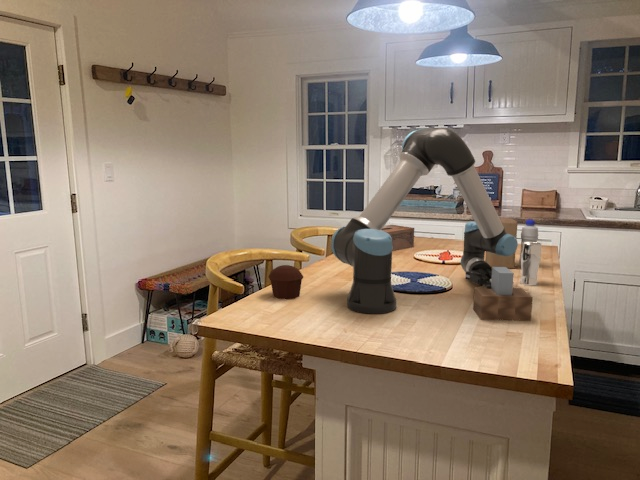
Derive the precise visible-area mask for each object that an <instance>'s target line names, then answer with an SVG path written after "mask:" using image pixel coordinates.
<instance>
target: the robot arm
mask: <svg viewBox="0 0 640 480" xmlns="http://www.w3.org/2000/svg"><path fill="white" fill-rule="evenodd" d="M401 145H402V149H401V152H400V153H399V162H398V163H397V165H396V166H395V168H394V169H392V171H391V173H390V174H389V176H387V178H386V179H385V181H384V182H383V183H382V185H381V186H380V188H379V189H378V190H377V192H376V193H375V194H374V196H373V197H372V198H371V200H370V201H369V202H368V204H367V205H366V206H365V208H364V209H363V210H362V212H361V213H360V214H359V216H356V217H351V218H350V220H349V222H348V223H347V224H346V226H342V227H340V228H338V229H336V231H334V232H333V234H332V237H331V241H330V247H331V248H330V249H331V252H332V254H333V256H335V258H337V259H338V260H339V261H340V262H341V263H343V264H345V265H349V266H351V267H352V268H353V269H352V271H353V275H352V276H353V278H352V279H353V280H352V284H351V287H350V290H349V293H348V295H347V299H346V301H347V302H346V307H347V308H348V309H350V310H351V311H354V312H357V313H361V314H369V315H370V314H373V315H374V314H376V315H377V314H386V313H390V312H393V311H395V310H396V309H397V298H396V295H395V292H394V287H393V286H392V269H393V268H392V266H393V265H392V264H393V251H392V250H393V246H392V238H391V236H390V235H389V234H388V233H386V232H384V231H381V230H382V228H383V227H384V226H386V225H387V223H388V222H389V220H390V219H391V218H392V216H393V214H394V213H395V212H396V210H398V208H399V206H400V205H401V204H402V202H403V201H404V200H405V199H406V197H407V196H408V194H409V193H410V191H411V190H412V189H413V187H414V186H415V185H416V184H417V182H418V181H419V180H420V178H421V177H422V176H428V175H429V173H430V172H431V170H433V168H434V167H435V166H436V165H437V166H438V165H439V166H441V168H443V170H444V171H445V173H446V175H447V176H449V177H451V178H452V179H453V181H454V184H455V185H456V187H457V189H458V191H459V193H460V195H461V197H462V198H463V199H462V200H464V203H465V206H466V207H467V209H468V210H469V212H470V214H471V217H472V218H473V220H474V221H468V222H466V223H465V226H464V232H463V251H462V256H461V258H460V266H461V268H462V270H463V271H464V273H465V276H464V277H465V278H464V279H465V280H467V281H470V282H472V283H473V284H475V285H477V286H478V287H486V285H491V278H492V268H491V266H490V265H489V264H488V263H487V262H486V261H485V256H486V252H490V253H493V254H497V255H500V256H511V255H512V254H513V253H515V254H516V252H517V250H518V246H519V245H518V240H517V237H516V238H515V237H514V236H512V235H510V234H507V233H506V231H505V229H504V227H503V225H502V223H501V220H500V218H501V217H500V216H499V214H498V212H497V211H496V208H495V206H494V204H493V202H492V200H491V198H490V196H489V194H488V192H487V190H486V188H485V185H484V184H483V181H482V180H481V177H480V175H479V173H478V171H477V169H476V167H475V164H476V159H475V157H474V155H473V153H472V152H471V149H470V148H469V146H468V145H467V144H466V142H465V140H463V138H462V137H461V136H460V135H459V134H458V133H457V132H455V131H454V130H452V129H450V128H446V127H437V128H419V129H416V130H413V131H411V132H409V134H407V135H406V137H405V138H404V140H403V142H402V144H401ZM515 251H516V252H515Z"/></svg>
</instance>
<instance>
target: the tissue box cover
mask: <svg viewBox="0 0 640 480" xmlns="http://www.w3.org/2000/svg"><path fill="white" fill-rule="evenodd" d="M381 231H384V232H386V233H388V234H389V235H390V236H391V238H392V246H393V250H392V252H398V251H402V250H406V249H411V248H414V247H415V227H410V226H404V225H397V224H385V225H384V227H383V228H382V230H381Z"/></svg>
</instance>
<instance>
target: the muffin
mask: <svg viewBox="0 0 640 480" xmlns="http://www.w3.org/2000/svg"><path fill="white" fill-rule="evenodd" d="M268 279H269V281H270V284H271V290H272V296H273V298H274V299H278V300H294V299H297V298H299V297H300V295H301V288H302V281H303V279H304V275H303V274H302V272H301V270H299V268H297V267H296V266H293V265H289V264H284V265H283V264H282V265H279V266H277V267H274V268H273V269H272V270H271V271H270V272H269V274H268Z"/></svg>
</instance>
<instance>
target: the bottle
mask: <svg viewBox="0 0 640 480" xmlns="http://www.w3.org/2000/svg"><path fill="white" fill-rule="evenodd" d="M520 240H521V243H520V247H521V246H522V242H537V241H538V240H539V227H537V226H535V220H534V219H526V221H525V225H524V226H522V229H521V233H520ZM519 266H520V267H521V261H520V259H519Z"/></svg>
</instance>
